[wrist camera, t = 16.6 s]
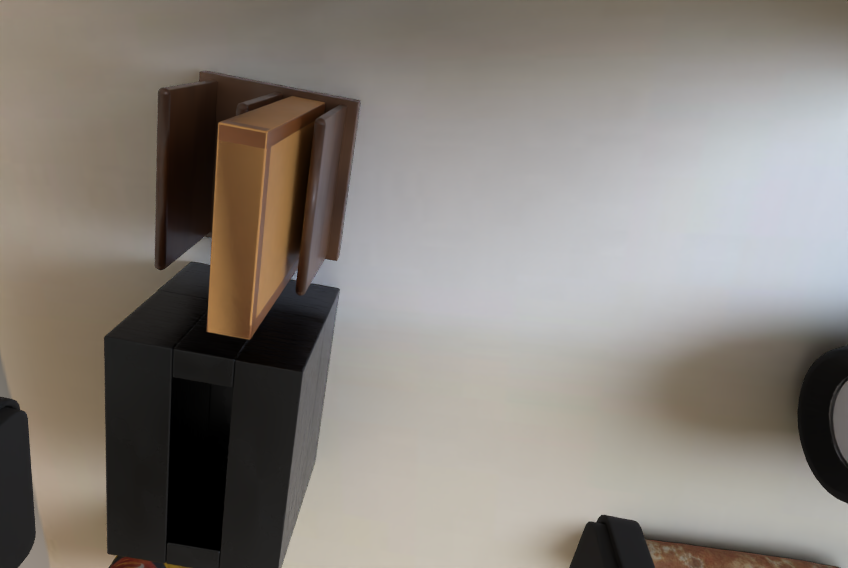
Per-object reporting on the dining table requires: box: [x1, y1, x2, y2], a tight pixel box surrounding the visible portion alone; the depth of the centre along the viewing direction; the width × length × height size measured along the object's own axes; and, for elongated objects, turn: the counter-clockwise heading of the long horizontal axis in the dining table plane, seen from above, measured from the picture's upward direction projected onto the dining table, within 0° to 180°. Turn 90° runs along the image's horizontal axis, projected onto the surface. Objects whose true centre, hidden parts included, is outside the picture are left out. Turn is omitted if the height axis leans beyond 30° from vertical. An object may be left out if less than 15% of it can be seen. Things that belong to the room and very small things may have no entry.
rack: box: [155, 71, 361, 296], centre depth 31 cm, size 9×8×7 cm
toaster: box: [104, 262, 340, 568], centre depth 35 cm, size 13×10×10 cm
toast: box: [207, 96, 325, 339], centre depth 29 cm, size 8×2×11 cm, turn 170°
